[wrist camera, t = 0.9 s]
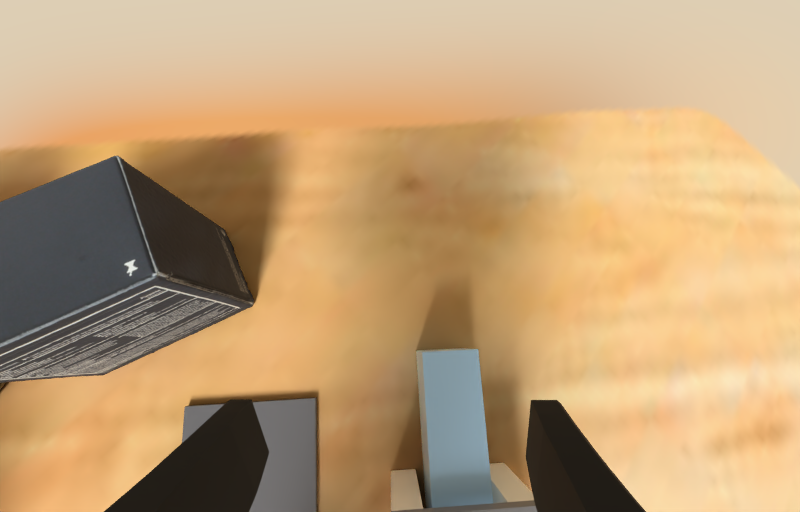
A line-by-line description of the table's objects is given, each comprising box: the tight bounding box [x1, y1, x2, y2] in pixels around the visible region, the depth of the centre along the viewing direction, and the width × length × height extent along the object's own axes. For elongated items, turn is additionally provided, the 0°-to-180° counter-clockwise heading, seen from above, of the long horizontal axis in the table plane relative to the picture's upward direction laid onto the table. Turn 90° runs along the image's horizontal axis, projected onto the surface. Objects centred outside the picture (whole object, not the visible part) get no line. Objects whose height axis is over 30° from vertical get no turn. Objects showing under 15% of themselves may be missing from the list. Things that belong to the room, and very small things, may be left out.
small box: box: [0, 156, 254, 383], centre depth 20 cm, size 11×6×10 cm, turn 116°
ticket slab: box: [416, 348, 493, 508], centre depth 21 cm, size 10×3×5 cm, turn 3°
